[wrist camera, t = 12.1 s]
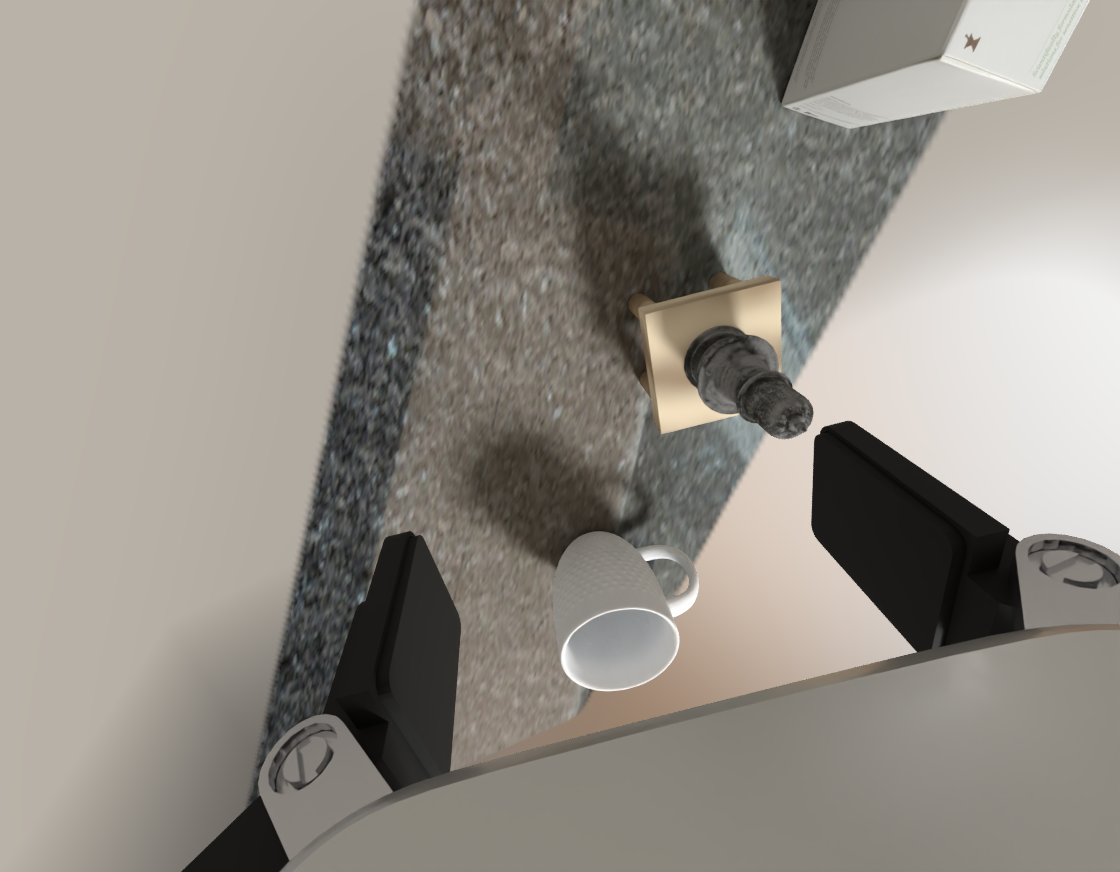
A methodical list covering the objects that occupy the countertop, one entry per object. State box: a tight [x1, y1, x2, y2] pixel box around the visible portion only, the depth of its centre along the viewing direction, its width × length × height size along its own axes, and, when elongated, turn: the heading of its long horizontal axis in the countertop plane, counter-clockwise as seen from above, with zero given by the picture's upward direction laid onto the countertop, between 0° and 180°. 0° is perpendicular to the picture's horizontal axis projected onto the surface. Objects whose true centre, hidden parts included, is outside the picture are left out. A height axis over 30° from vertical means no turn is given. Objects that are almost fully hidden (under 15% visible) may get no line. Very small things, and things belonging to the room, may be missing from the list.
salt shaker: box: [684, 325, 813, 439], centre depth 32 cm, size 6×6×12 cm
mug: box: [553, 531, 699, 691], centre depth 50 cm, size 15×11×13 cm
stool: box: [628, 273, 781, 434], centre depth 41 cm, size 10×10×8 cm
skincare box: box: [782, 0, 1090, 129], centre depth 29 cm, size 8×7×16 cm
